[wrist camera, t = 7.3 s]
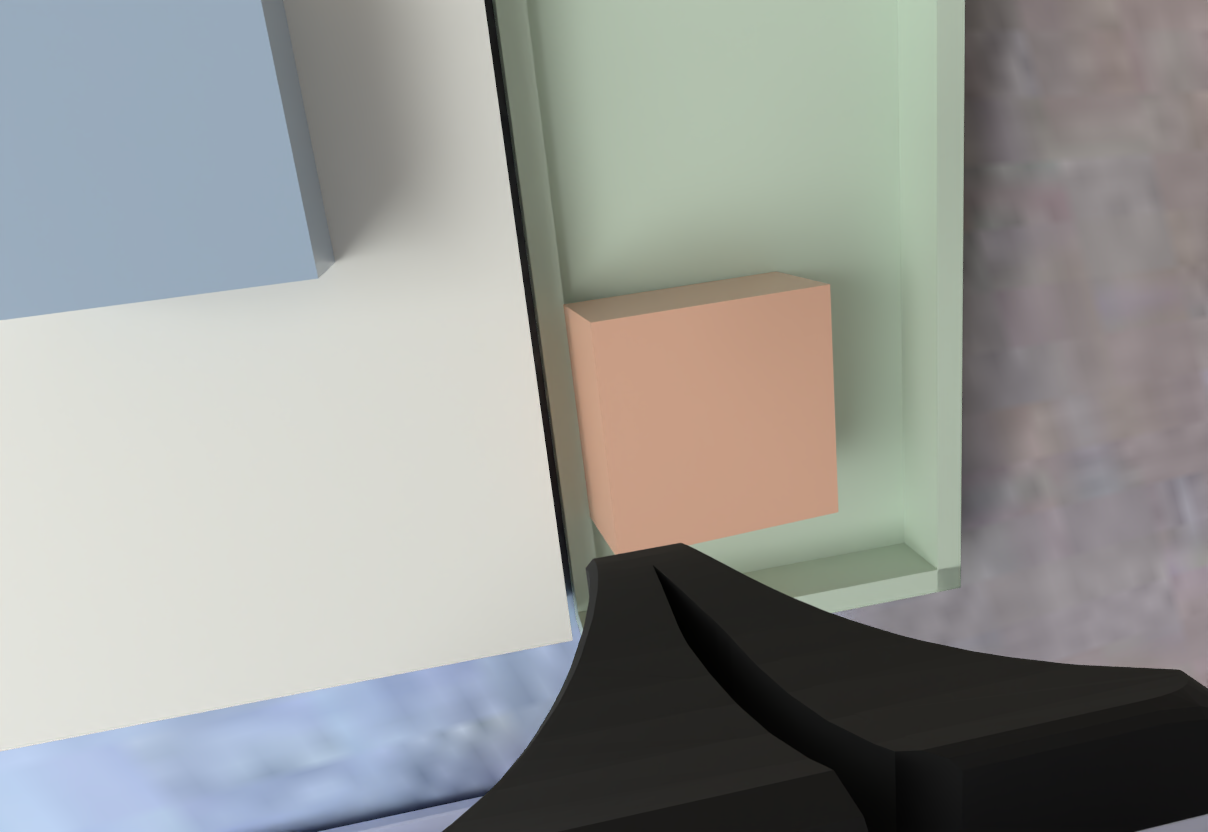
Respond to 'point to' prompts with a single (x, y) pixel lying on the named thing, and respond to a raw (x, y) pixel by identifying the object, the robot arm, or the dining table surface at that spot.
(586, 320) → the tile terracotta
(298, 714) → the dining table surface
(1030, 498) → the dining table surface
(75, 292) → the tile slate
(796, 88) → the tray
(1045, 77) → the dining table surface
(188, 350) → the board
